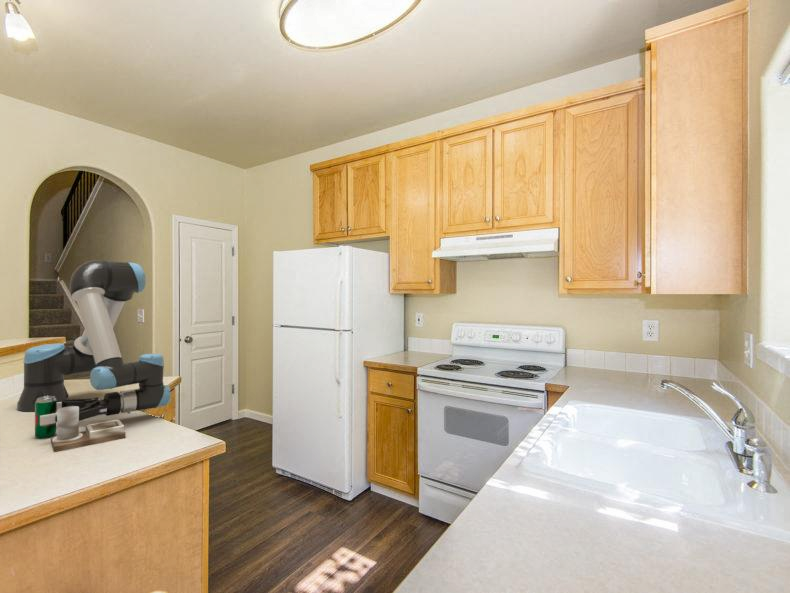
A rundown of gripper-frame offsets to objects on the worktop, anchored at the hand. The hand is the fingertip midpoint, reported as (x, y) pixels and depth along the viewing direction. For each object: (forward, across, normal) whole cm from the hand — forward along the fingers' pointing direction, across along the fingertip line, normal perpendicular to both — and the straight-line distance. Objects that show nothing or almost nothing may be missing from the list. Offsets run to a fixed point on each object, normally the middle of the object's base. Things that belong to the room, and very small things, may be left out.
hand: (36, 415), depth 123 cm
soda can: (-2, 0, -7) cm, 7 cm away
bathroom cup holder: (-11, -12, -7) cm, 18 cm away
